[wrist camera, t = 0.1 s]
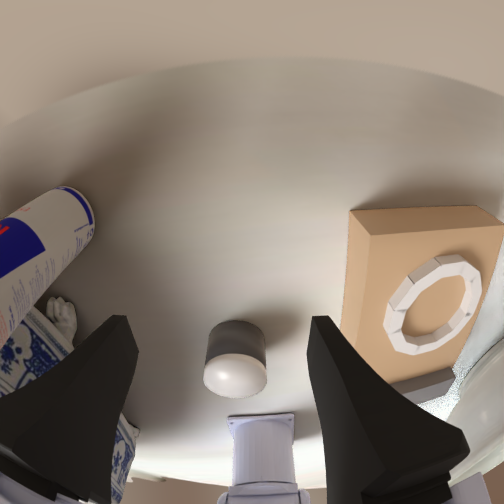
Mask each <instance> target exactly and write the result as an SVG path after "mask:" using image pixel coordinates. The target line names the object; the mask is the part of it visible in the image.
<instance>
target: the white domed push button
mask: <svg viewBox="0 0 504 504" xmlns="http://www.w3.org/2000/svg"><path fill="white" fill-rule="evenodd" d="M203 381H204V384H205V385H206V387H207V388H208V389H209V390H210V391H212V392H214V393H215V394H218V395H220V396H223V397H228V398H245V397H250V396H253V395H255V394H257V393H259V392H261V391H262V390H263V389H264V387H265V386H266V383H267V376H266V357H265V339H264V335H263V333H262V332H261V330H260V329H259V328H258V327H256V326H255V325H253V324H251V323H248V322H245V321H238V320H233V321H226V322H223V323H221V324H219V325H217V326H216V327H214V328H213V329H212V331H211V332H210V335H209V341H208V347H207V354H206V361H205V368H204V375H203Z"/></svg>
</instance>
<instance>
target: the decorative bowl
mask: <svg viewBox="0 0 504 504" xmlns="http://www.w3.org/2000/svg"><path fill="white" fill-rule="evenodd" d="M46 316H47V318H48V319H49V320H50V321H49V320H48V319H47V318H46V317H45V316H44V315H43V314H42V313H41V312H40V311H39V310H37V309H36V308H35V307H34V306H33V307H32V308H31V309H30V310H29V312H28V313H27V314H26V316H25V317H24V318H23V319H22V321H21V322H20V323H19V325H18V326H17V327H16V329H15V330H14V331H13V333H12V334H11V335H10V337H9V338H8V340H7V341H6V342H5V344H4V345H3V347H2V348H1V350H0V397H2V396H5V395H7V394H9V393H11V392H13V391H15V390H17V389H19V388H21V387H23V386H25V385H26V384H28V383H30V382H31V381H33V380H35V379H36V378H38V377H40V376H41V375H43V374H44V373H45V372H47V371H48V370H50V369H51V368H52V367H54V366H55V365H56V364H58V363H59V362H60V361H61V360H63V359H64V358H65V357H66V356H67V355H68V354H70V353H71V352H72V351H73V350H74V349H75V348H74V347H73V345H72V340H73V337H74V335H75V332H76V330H77V323H76V322H77V317H76V313H75V309H74V305H73V304H72V303H70V302H65V301H64V300H63V299H62V297H60V296H59V297H58V299H57V300H56V299H55V298H54V297H50V299H49V300H48V302H47V306H46ZM139 431H140V430H139V429H138V428H135V427H133V426H132V425H130V424H128V422H127V420H126V419H125V417H124V415H123V414H122V412H121V414H120V418H119V421H118V425H117V431H116V437H115V443H114V450H113V459H112V473H111V501H112V503H111V504H119V503H120V501H121V499H122V495H123V492H124V488H125V483H126V479H127V476H128V473H129V470H130V467H131V464H132V461H133V459H134V457H135V447H136V442H135V437H138V436H139ZM79 502H81V503H84V504H94V503H92V502H89V501H88V502H84V501H81V500H79Z"/></svg>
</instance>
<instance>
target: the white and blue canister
mask: <svg viewBox="0 0 504 504" xmlns="http://www.w3.org/2000/svg"><path fill="white" fill-rule="evenodd" d="M94 229H95V219H94V214H93V211H92V208H91V206H90V204H89V202H88V201H87V199H86V198H85V197H84V196H83V195H82V194H81V193H80V192H79V191H77V190H75V189H74V188H71V187H67V186H59V187H56V188H54V189H51V190H50V191H48V192H46V193H44V194H43V195H41V196H39V197H37V198H36V199H34V200H32V201H31V202H29V203H27V204H26V205H24V206H23V207H21V208H19V209H18V210H16V211H15V212H13V213H12V214H10V215H9V216H7V217H6V218H4V219H3V220H1V221H0V350H1V348H2V347H3V345H4V344H5V342H6V341H7V340H8V338H9V337H10V335H11V334H12V333H13V331H14V330H15V329H16V327H17V326H18V325H19V323H20V322H21V321H22V319H23V318H24V317H25V316H26V314H27V313H28V312H29V310H30V309H31V308H32V307H33V305H34V304H35V303H36V302H37V301H38V299H39V298H40V297H41V296H42V294H43V293H44V292H45V291H46V290H47V289H48V287H49V286H50V285H51V284H52V283H53V282H54V280H55V279H56V278H57V277H58V276H59V275H60V274H61V273H62V271H63V270H64V269H65V268H66V267H67V266H68V265H69V264H70V263H71V262H72V260H73V259H74V258H75V257H76V256H77V255H78V254H79V253H80V252H81V251H82V250H83V249H84V248H85V247H86V246H87V244H88V243H89V242H90V240H91V239H92V236H93V234H94Z"/></svg>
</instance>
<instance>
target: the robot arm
mask: <svg viewBox="0 0 504 504" xmlns="http://www.w3.org/2000/svg"><path fill="white" fill-rule="evenodd" d="M138 353H139V350H138V348H137V345H136V342H135V340H134V337H133V334H132V331H131V329H130V326H129V323H128V320H127V317H126V316H124V315H112V316H111V317H110V318H109V319H107V320H106V321H105V322H104V323H103V324H102V325H101V326H100V327H99V328H97V329H96V330H95V331H94V332H93V333H92V334H91V335H90V336H89V337H88V338H87V339H85V340H84V341H83V342H82V343H81V344H80V345H79V346H78V347H77V348H75V349H74V350H73V351H72V352H71V353H70V354H68V355H67V356H66V357H65V358H64V359H63V360H61V361H60V362H59V363H58V364H56V365H55V366H54V367H52V368H51V369H50V370H48V371H47V372H45V373H44V374H43V375H41V376H40V377H38V378H36V379H35V380H33V381H31V382H30V383H28V384H26V385H25V386H23V387H21V388H19V389H17V390H15V391H13V392H11V393H9V394H7V395H5V396H2V397H0V504H84V503H81V502H79V500H81V501H84V502H88V501H89V502H92V503H94V504H111V503H112V501H111V473H112V459H113V450H114V443H115V437H116V431H117V425H118V421H119V418H120V414H121V411H122V408H123V405H124V402H125V399H126V396H127V393H128V390H129V387H130V385H131V382H132V379H133V376H134V372H135V368H136V363H137V358H138ZM307 361H308V370H309V377H310V381H311V386H312V390H313V394H314V398H315V402H316V406H317V410H318V415H319V419H320V423H321V429H322V435H323V444H324V454H325V466H326V483H327V504H491V501H490V498H489V494H488V491H487V488H486V485H485V482H484V479H483V476H482V473H481V472H477V473H476V474H474V475H472V476H470V477H468V478H466V479H464V480H462V481H460V482H458V483H456V484H454V485H453V486H451V487H449V485H448V481H450V480H451V475H450V472H449V471H450V470H452V469H453V468H454V467H455V466H457V465H458V464H459V463H461V462H462V461H463V460H464V459H465V458H466V457H467V456H468V455H469V453H470V448H469V445H468V442H467V440H466V437H465V435H464V433H463V431H462V429H460V428H458V427H456V426H453V425H451V424H449V423H447V422H445V421H443V420H441V419H439V418H437V417H435V416H433V415H432V414H430V413H428V412H427V411H425V410H423V409H422V408H420V407H419V406H417V405H416V404H414V403H413V402H411V401H410V400H409V399H407V398H406V397H404V396H403V395H402V394H400V393H399V392H398V391H397V390H395V389H394V388H393V387H392V386H391V385H389V384H388V383H387V382H386V381H385V380H384V379H383V378H382V377H381V376H380V375H379V374H377V373H376V372H375V371H374V370H373V368H372V367H371V366H370V365H369V364H368V363H367V362H366V361H365V360H364V359H363V358H362V357H361V356H360V354H359V353H358V352H357V351H356V350H355V349H354V347H353V346H352V345H351V344H350V343H349V341H348V340H347V339H346V338H345V336H344V335H343V334H342V333H341V331H340V330H339V329H338V327H337V326H336V325H335V323H334V322H333V321H332V319H331V318H330V317H329V316H312V321H311V328H310V335H309V341H308V348H307ZM227 423H228V426H229V429H230V431H231V434H232V437H233V439H234V446H233V478H232V486H229V492H224V493H223V494H222V495H221V496H220V497H219V499H218V501H217V504H311V501H310V496H309V493H308V492H307V491H305V490H304V489H299V490H298V485H297V483H296V480H295V469H294V458H293V448H292V445H293V439H294V414H292V413H290V414H279V415H266V416H248V417H228V418H227Z"/></svg>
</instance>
